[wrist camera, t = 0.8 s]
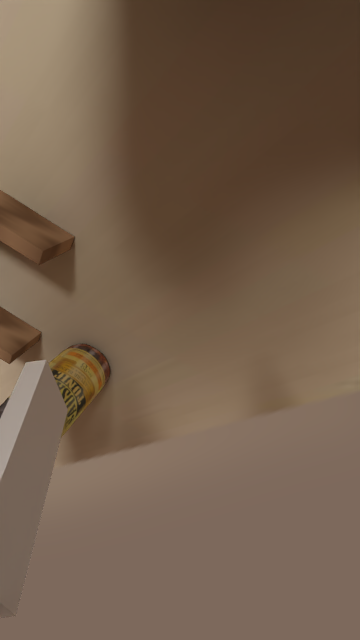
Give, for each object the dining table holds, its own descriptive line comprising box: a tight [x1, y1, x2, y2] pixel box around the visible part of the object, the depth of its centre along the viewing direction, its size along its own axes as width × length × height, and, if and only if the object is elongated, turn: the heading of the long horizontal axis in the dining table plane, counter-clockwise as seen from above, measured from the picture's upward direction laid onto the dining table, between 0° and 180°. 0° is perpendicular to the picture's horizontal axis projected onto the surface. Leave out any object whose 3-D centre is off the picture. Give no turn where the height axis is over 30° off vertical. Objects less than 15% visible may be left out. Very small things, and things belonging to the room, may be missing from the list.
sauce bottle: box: [0, 344, 110, 437], centre depth 32 cm, size 6×6×20 cm
